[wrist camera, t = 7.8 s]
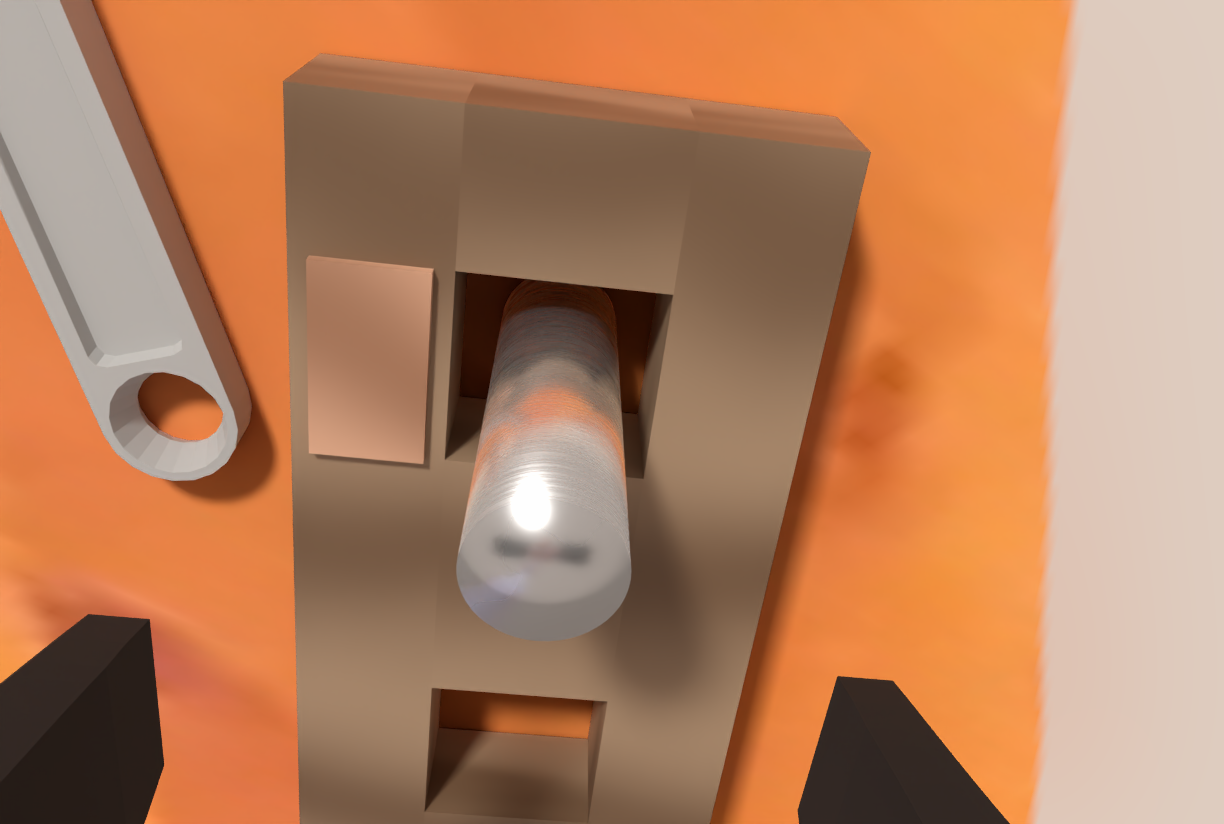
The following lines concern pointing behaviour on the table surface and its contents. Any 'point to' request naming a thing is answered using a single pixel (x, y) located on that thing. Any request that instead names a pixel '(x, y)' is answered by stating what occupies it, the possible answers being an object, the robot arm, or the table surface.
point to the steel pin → (549, 471)
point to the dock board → (451, 425)
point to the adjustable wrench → (107, 237)
